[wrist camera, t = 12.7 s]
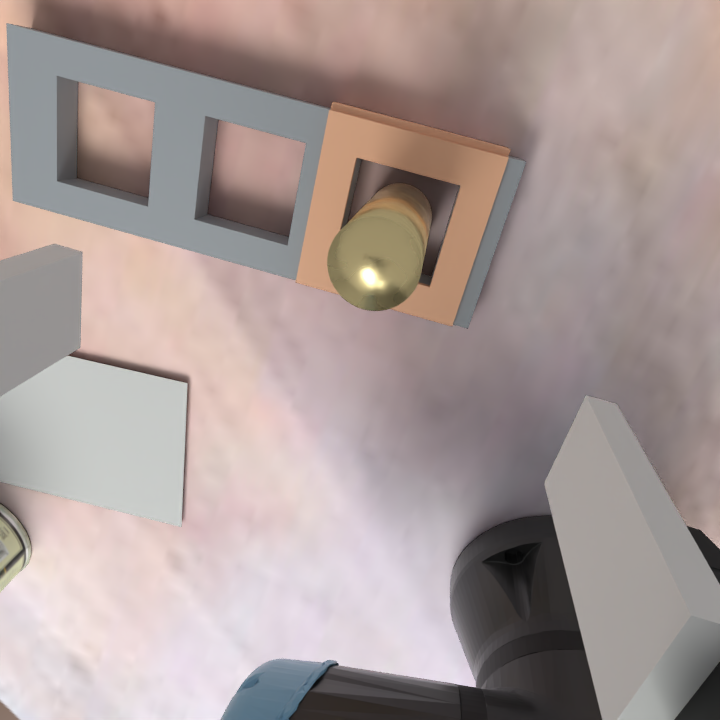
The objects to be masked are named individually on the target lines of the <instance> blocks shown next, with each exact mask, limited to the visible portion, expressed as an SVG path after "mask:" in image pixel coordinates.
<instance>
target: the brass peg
mask: <svg viewBox="0 0 720 720" xmlns="http://www.w3.org/2000/svg"><path fill="white" fill-rule="evenodd" d="M431 222H432V211H431V206H430V204H429V201H428V199H427V198H426V196H425V195H424V194H423V193H422V192H421V191H420V190H419V189H417V188H416V187H414V186H412V185H409V184H404V183H395V184H390V185H388V186H386V187H384V188H382V189H381V190H379V191H378V192H377V193H376V194H375V195H374V196H373V197H372V198H371V199H370V200H369V201H368V202H367V203H366V204H365V205H364V206H363V207H362V208H361V209H360V211H359V212H358V213H357V214H356V215H355V216H354V217H353V218H352V219H351V220H350V221H349V222H348V223H347V224H346V225H345V226H344V227H343V228H342V229H341V230H340V231H339V232H338V234H337V235H336V236H335V238H334V239H333V241H332V243H331V245H330V248H329V252H328V257H327V267H328V273H329V277H330V280H331V282H332V284H333V286H334V288H335V289H336V291H337V292H338V293H339V294H340V295H341V297H342V298H344V299H345V300H346V301H347V302H349V303H350V304H352V305H354V306H356V307H358V308H361V309H365V310H371V311H381V310H387V309H390V308H393V307H395V306H398V305H399V304H401V303H402V302H404V301H405V300H406V299H407V298H408V297H409V296H410V295H411V294H412V293H413V291H414V290H415V288H416V287H417V285H418V282H419V280H420V276H421V272H422V267H423V262H424V257H425V252H426V247H427V242H428V237H429V232H430V227H431Z"/></svg>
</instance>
